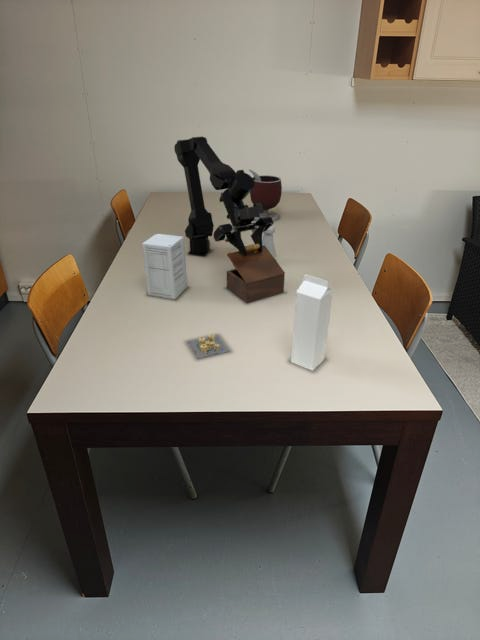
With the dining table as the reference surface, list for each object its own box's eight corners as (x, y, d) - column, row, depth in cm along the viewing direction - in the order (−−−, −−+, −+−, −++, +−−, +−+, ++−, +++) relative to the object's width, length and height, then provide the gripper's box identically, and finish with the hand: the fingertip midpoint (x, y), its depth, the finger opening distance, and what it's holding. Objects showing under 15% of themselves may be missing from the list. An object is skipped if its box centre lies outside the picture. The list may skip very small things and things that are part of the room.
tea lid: (226, 255, 138) (229, 245, 135) (263, 246, 144) (267, 237, 141) (246, 284, 133) (250, 275, 129) (284, 274, 139) (288, 265, 136)
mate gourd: (285, 216, 209) (288, 170, 199) (270, 224, 199) (272, 177, 189) (256, 210, 216) (257, 166, 206) (240, 217, 206) (241, 172, 196)
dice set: (201, 354, 112) (201, 348, 111) (195, 344, 116) (194, 337, 115) (221, 350, 114) (221, 343, 113) (213, 340, 118) (213, 333, 117)
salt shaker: (274, 265, 160) (276, 229, 154) (258, 263, 161) (259, 228, 155) (276, 258, 165) (278, 223, 159) (260, 257, 166) (261, 222, 160)
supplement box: (188, 287, 144) (185, 236, 136) (175, 300, 137) (171, 247, 128) (161, 282, 147) (156, 232, 139) (146, 295, 139) (141, 242, 131)
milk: (303, 351, 114) (310, 269, 103) (324, 359, 111) (335, 276, 100) (290, 362, 110) (297, 278, 99) (312, 371, 107) (322, 285, 96)
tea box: (226, 288, 144) (226, 270, 141) (262, 279, 150) (262, 262, 147) (246, 303, 135) (246, 285, 132) (283, 292, 142) (284, 274, 139)
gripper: (218, 198, 128) (237, 248, 126) (272, 189, 137) (291, 236, 135) (205, 217, 138) (223, 264, 136) (256, 208, 147) (274, 252, 145)
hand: (253, 254), depth 138 cm, fingers closed on tea lid, 5 cm apart
